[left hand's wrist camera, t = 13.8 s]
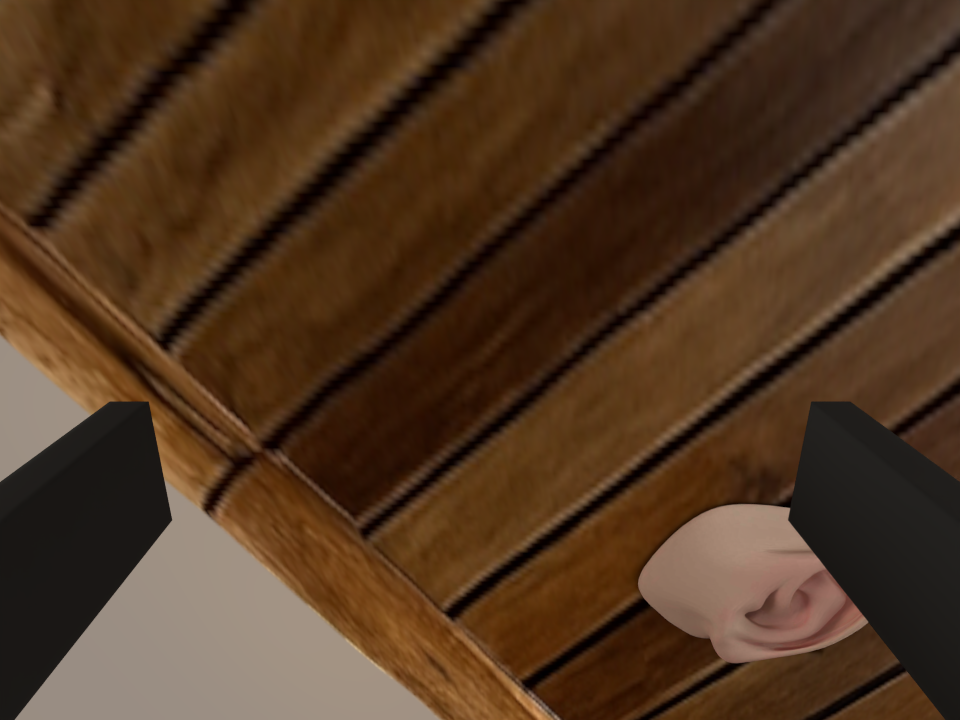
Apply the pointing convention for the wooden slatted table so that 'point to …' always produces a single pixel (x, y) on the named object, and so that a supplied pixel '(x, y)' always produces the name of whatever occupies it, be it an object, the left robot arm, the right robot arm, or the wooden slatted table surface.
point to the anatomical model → (748, 585)
